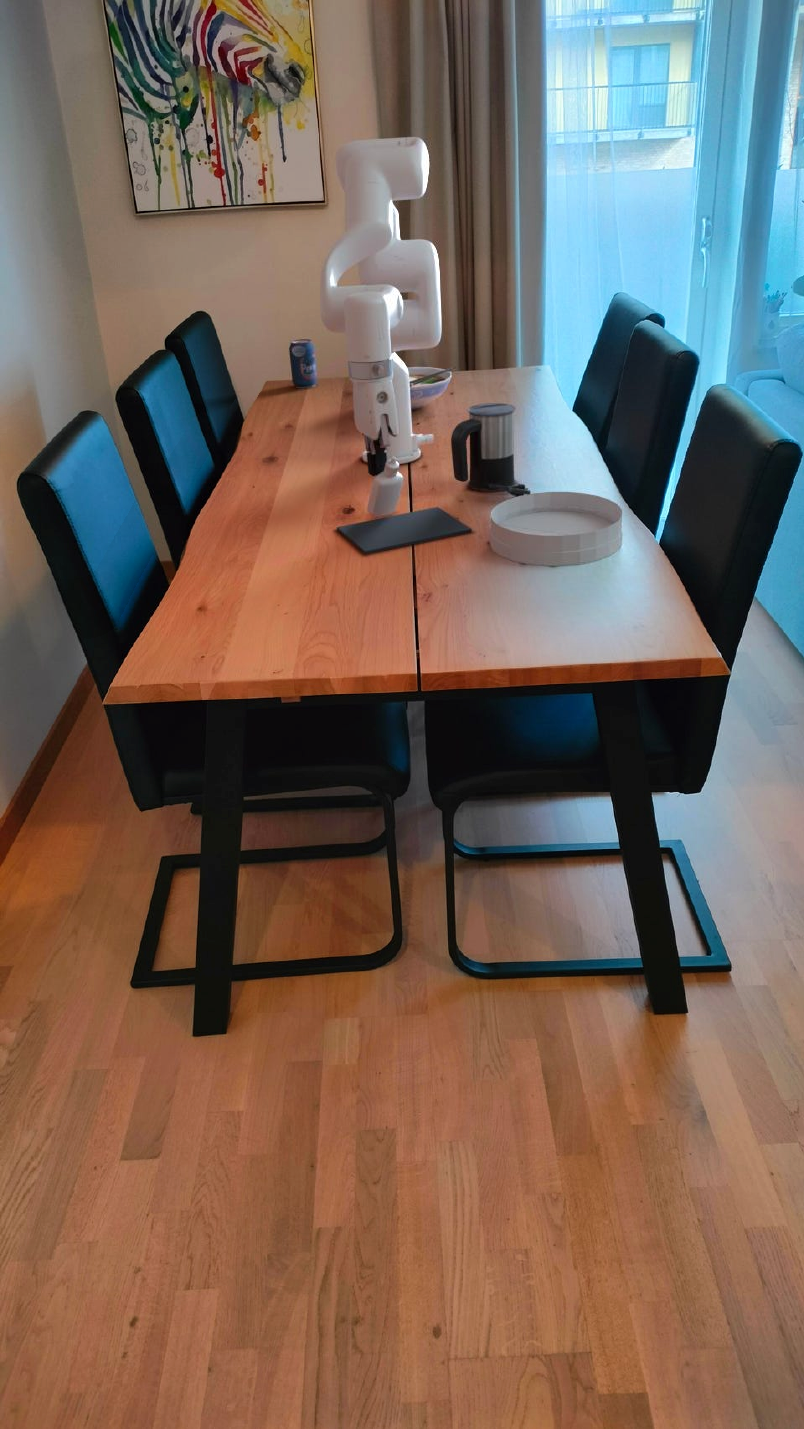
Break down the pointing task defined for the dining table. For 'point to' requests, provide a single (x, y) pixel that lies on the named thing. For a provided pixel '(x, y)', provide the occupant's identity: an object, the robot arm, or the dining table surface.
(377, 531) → the mat
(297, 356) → the soda can
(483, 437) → the milk frother
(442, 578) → the dining table surface
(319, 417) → the dining table surface
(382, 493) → the eye dropper bottle
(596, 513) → the dish
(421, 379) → the ramen bowl
